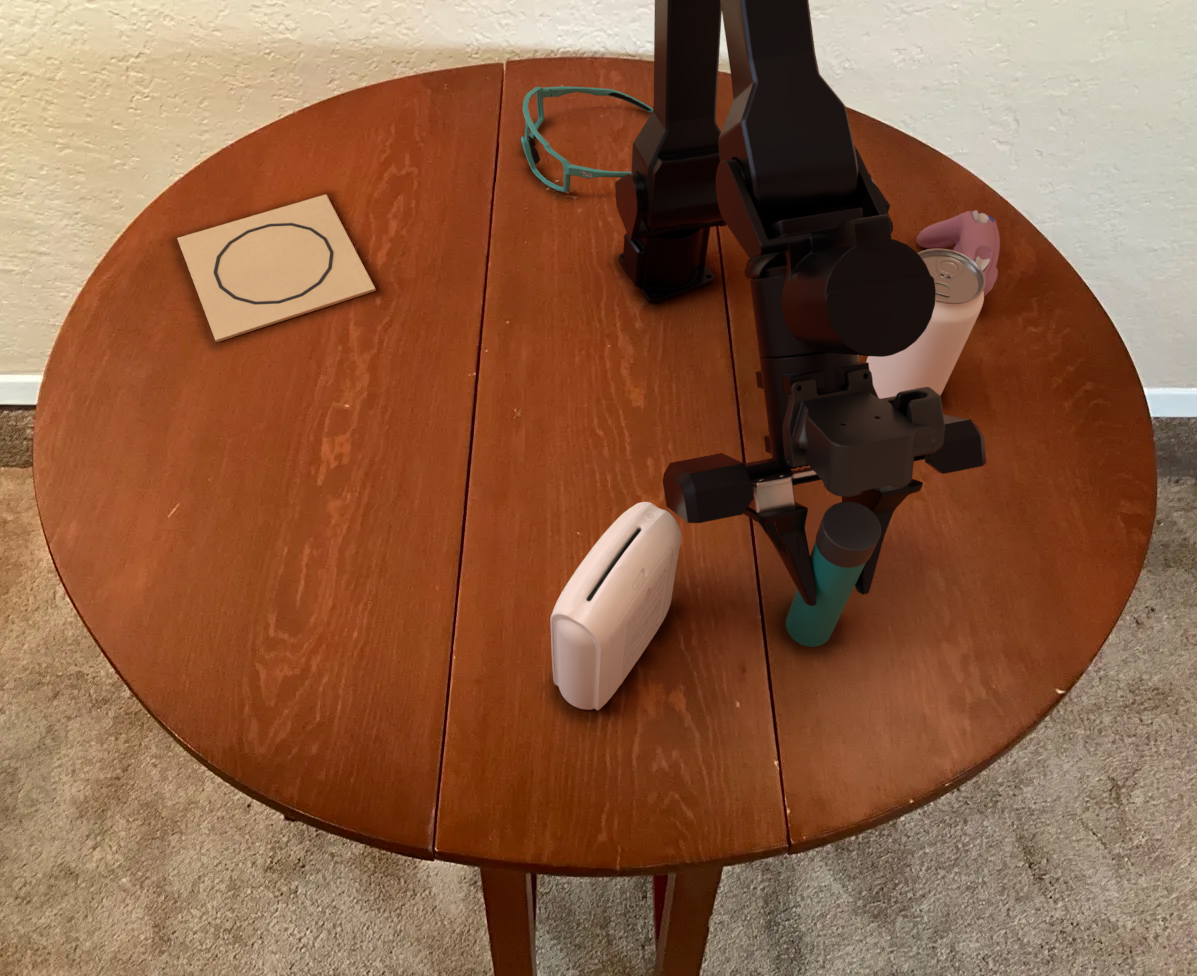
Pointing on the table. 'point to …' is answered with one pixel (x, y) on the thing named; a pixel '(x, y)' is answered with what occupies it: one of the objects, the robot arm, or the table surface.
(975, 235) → the video game controller
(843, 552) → the water bottle
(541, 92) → the sunglasses
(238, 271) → the sketch sheet
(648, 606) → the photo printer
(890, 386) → the can
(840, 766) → the table surface
